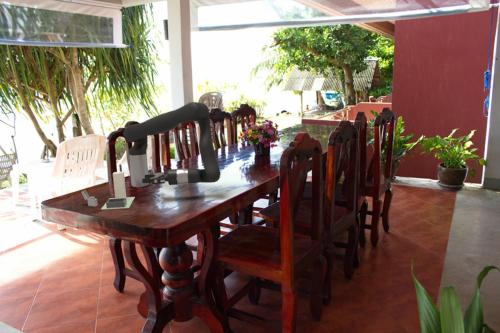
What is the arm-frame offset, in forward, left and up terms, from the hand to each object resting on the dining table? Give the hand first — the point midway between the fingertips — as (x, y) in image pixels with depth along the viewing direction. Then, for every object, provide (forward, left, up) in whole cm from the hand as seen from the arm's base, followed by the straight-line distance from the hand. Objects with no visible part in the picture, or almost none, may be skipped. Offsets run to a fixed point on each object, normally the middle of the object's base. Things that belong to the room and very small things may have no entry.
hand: (143, 179), depth 206 cm
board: (-2, -12, -11) cm, 16 cm away
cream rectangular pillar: (-7, -9, -9) cm, 15 cm away
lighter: (-9, -23, -11) cm, 27 cm away
